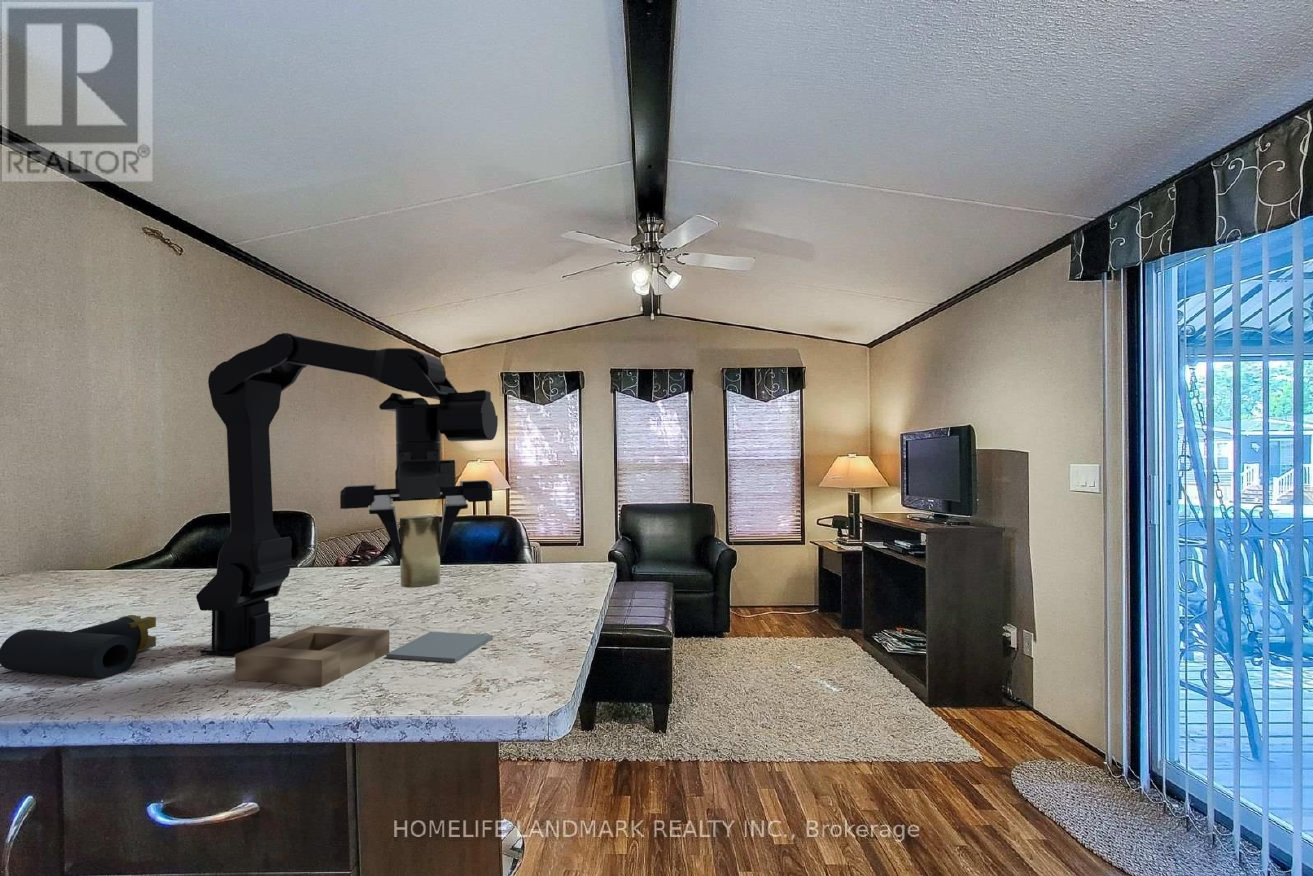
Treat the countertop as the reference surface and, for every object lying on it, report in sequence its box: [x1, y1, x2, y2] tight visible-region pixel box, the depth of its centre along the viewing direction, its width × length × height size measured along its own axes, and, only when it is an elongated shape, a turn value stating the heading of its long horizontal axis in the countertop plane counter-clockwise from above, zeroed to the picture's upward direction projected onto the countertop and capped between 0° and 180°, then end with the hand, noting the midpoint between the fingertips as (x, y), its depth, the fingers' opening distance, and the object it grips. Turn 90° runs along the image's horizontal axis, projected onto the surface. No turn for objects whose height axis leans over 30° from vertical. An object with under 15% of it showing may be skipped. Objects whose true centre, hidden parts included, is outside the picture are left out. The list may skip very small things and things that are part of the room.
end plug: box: [399, 514, 441, 589], centre depth 80 cm, size 5×5×9 cm
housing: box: [234, 625, 390, 687], centre depth 75 cm, size 12×12×3 cm
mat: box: [385, 631, 494, 663], centre depth 81 cm, size 10×10×1 cm
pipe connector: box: [0, 614, 157, 680], centre depth 77 cm, size 12×5×15 cm
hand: (420, 557), depth 80 cm, fingers closed on end plug, 5 cm apart
